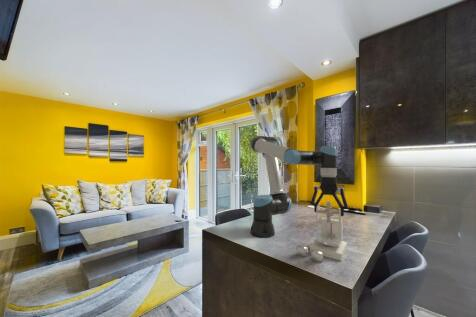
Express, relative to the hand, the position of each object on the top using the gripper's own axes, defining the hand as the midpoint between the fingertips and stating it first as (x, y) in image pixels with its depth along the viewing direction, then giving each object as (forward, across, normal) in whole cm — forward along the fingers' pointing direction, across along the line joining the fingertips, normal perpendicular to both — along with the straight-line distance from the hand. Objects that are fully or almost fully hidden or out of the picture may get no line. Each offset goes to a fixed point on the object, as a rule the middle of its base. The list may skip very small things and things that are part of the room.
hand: (328, 220), depth 101 cm
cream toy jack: (+1, 0, 0) cm, 1 cm away
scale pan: (+10, 0, 0) cm, 10 cm away
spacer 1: (+15, -9, -12) cm, 22 cm away
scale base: (+15, 0, +2) cm, 15 cm away
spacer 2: (+15, -2, -13) cm, 21 cm away
